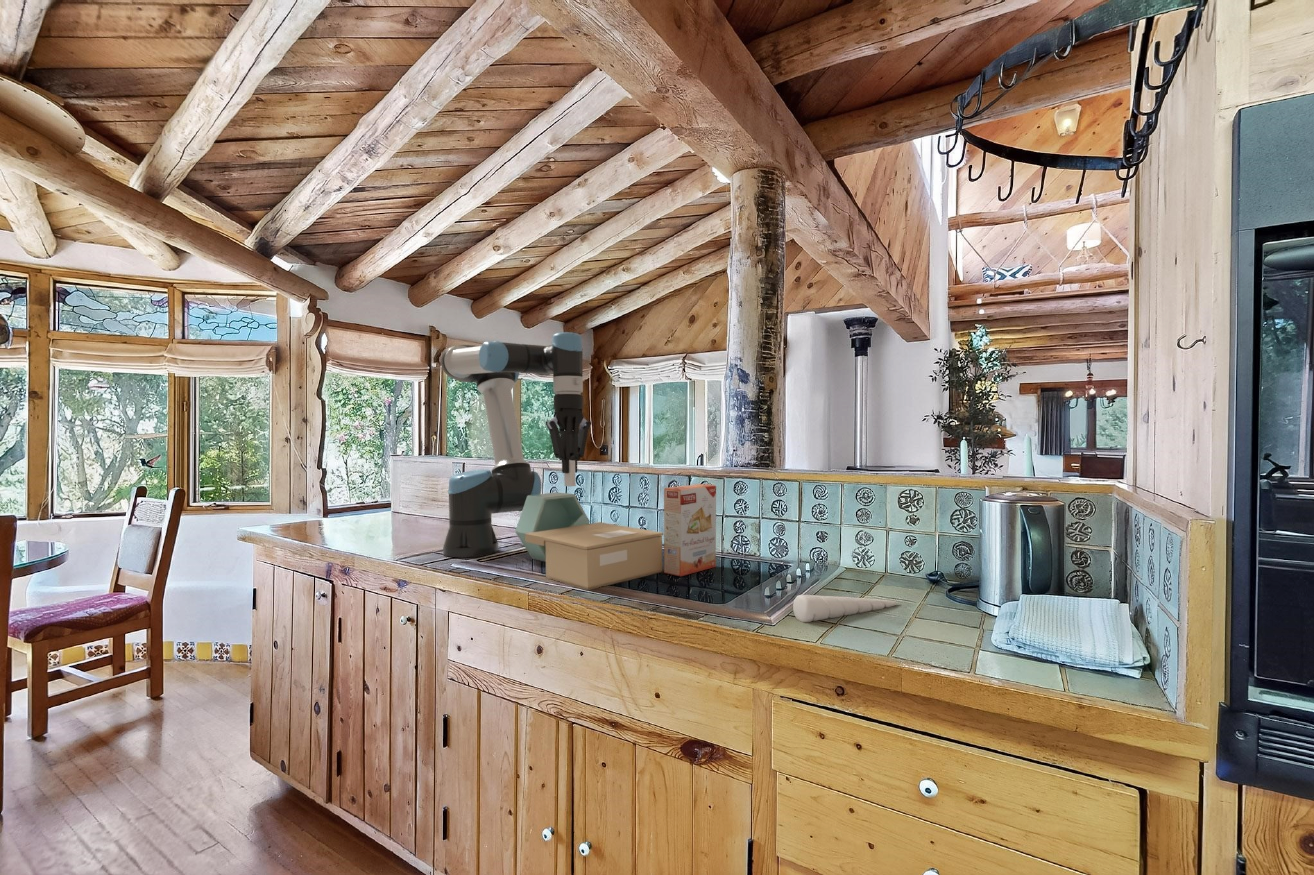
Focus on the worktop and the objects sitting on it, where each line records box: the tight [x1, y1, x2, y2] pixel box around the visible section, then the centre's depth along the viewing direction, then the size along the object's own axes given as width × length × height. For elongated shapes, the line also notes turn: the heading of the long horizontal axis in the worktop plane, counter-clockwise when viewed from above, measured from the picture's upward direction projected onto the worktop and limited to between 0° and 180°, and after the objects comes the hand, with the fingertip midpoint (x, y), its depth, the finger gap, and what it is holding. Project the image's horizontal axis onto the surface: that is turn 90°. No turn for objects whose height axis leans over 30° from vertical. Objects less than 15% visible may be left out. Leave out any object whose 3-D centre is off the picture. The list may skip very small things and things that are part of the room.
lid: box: [525, 521, 664, 550], centre depth 147 cm, size 25×24×2 cm
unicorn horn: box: [792, 594, 900, 623], centre depth 113 cm, size 5×24×5 cm, turn 109°
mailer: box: [545, 535, 663, 591], centre depth 144 cm, size 16×23×9 cm
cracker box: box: [663, 483, 717, 577], centre depth 148 cm, size 14×6×21 cm, turn 137°
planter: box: [514, 491, 591, 563], centre depth 164 cm, size 17×8×21 cm
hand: (570, 485), depth 154 cm, fingers closed
